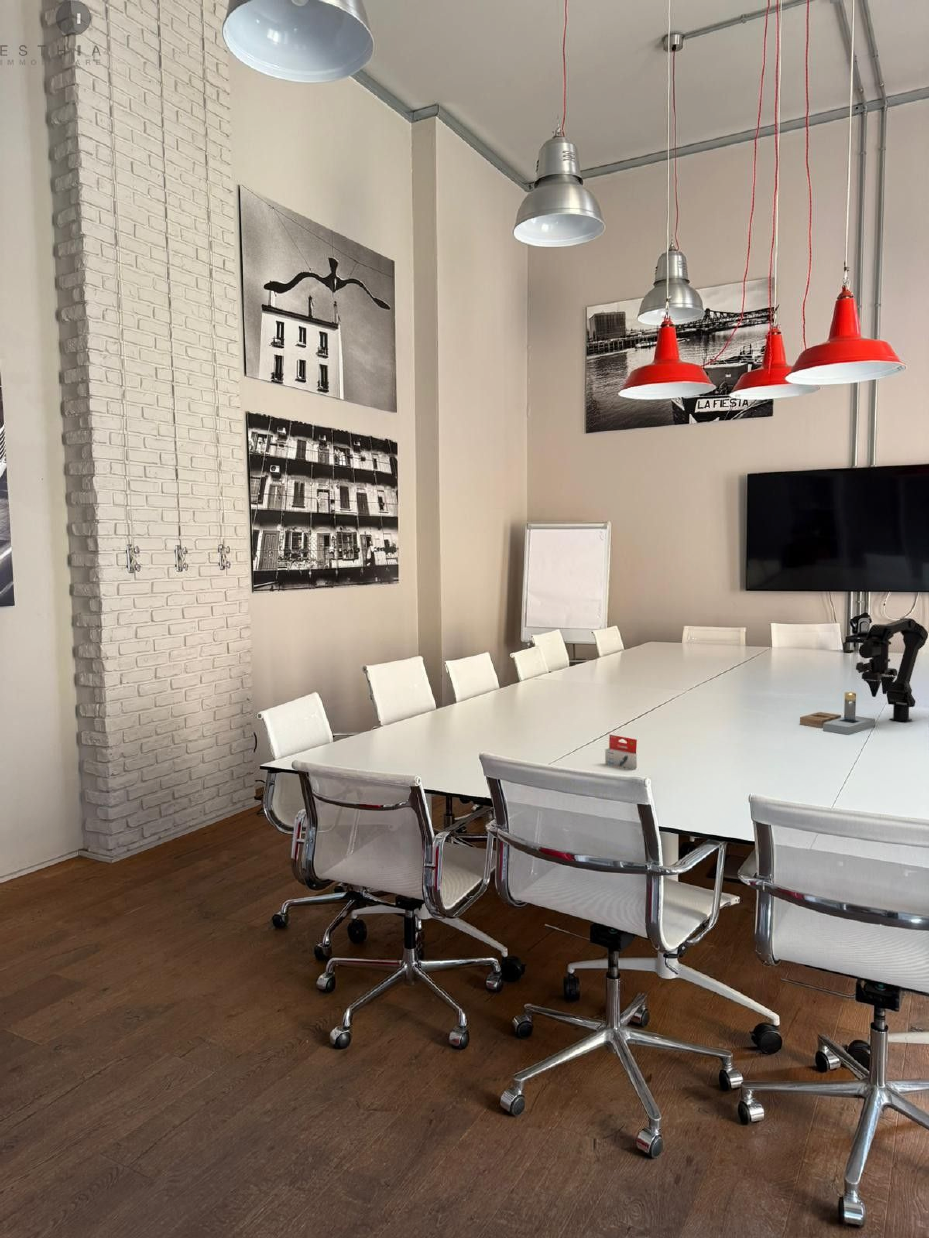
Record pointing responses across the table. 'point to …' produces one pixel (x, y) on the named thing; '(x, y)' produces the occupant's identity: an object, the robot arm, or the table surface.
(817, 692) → the table surface
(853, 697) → the gold capped metal post
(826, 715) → the socket block
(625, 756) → the ink cartridge box
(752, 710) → the table surface
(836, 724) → the board
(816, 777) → the table surface
